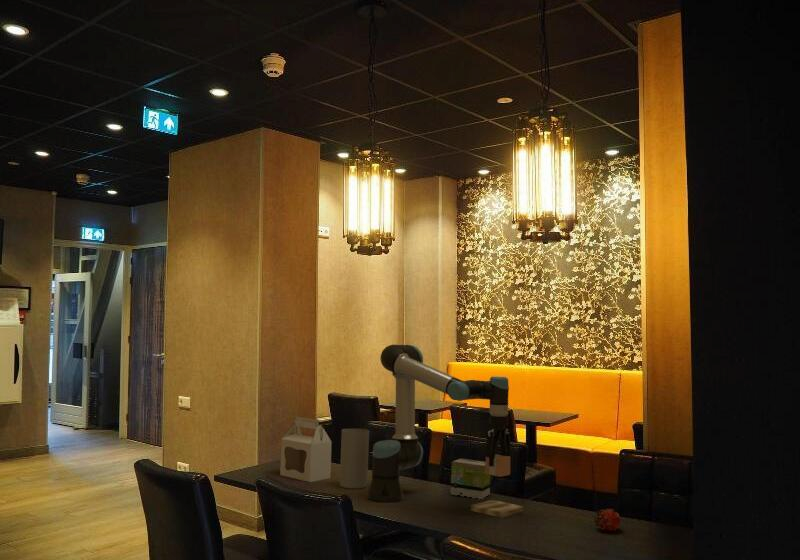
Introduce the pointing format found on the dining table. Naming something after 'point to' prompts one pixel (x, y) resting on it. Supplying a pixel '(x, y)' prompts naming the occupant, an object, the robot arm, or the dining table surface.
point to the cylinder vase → (354, 458)
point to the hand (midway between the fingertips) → (498, 473)
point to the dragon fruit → (607, 519)
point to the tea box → (469, 478)
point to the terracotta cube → (500, 465)
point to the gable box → (298, 445)
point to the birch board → (497, 508)
